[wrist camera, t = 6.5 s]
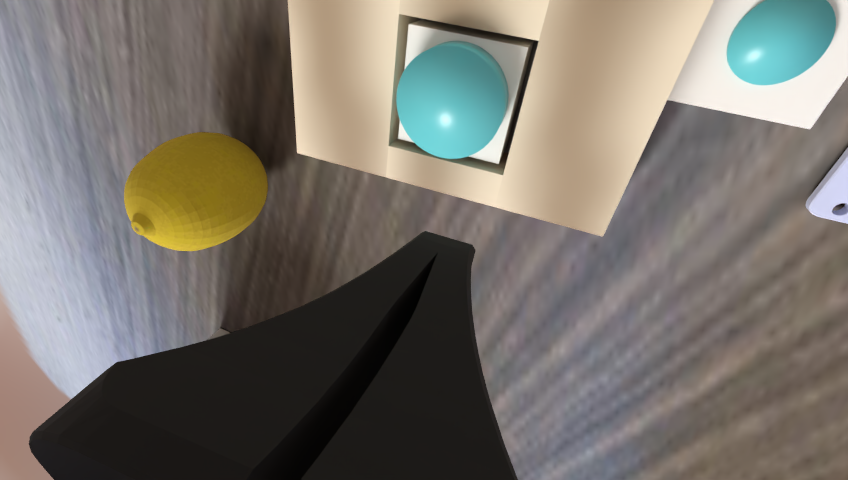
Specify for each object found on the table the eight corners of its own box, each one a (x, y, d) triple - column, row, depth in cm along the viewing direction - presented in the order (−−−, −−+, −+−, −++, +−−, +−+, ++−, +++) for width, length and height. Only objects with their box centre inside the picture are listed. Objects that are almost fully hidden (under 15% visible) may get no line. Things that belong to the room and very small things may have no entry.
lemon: (200, 112, 23) (59, 165, 17) (282, 116, 22) (159, 177, 16) (229, 198, 26) (118, 270, 20) (303, 207, 25) (207, 289, 19)
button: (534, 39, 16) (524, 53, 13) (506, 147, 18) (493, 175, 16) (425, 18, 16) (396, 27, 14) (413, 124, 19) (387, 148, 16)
